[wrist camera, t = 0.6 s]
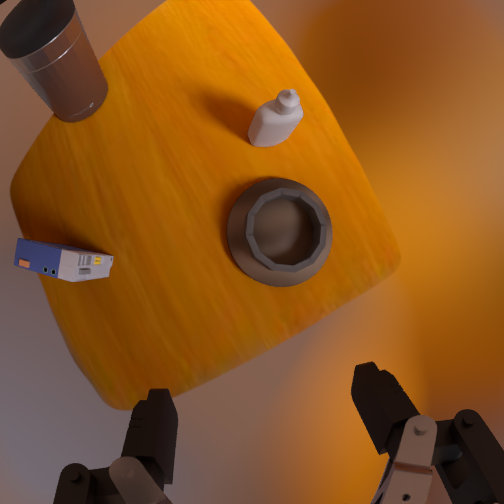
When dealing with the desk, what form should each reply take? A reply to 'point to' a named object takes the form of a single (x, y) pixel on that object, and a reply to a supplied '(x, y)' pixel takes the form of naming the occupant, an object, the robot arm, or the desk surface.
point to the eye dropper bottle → (275, 120)
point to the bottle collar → (279, 232)
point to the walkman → (61, 260)
